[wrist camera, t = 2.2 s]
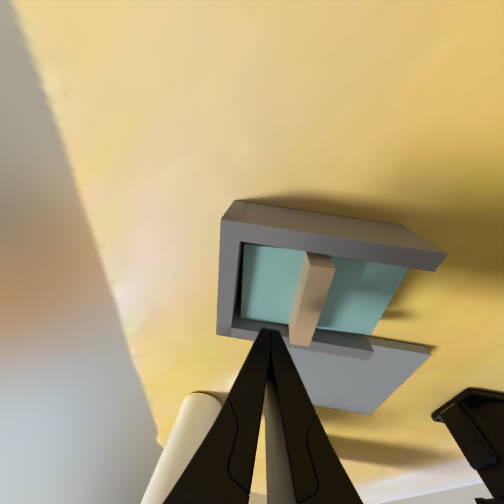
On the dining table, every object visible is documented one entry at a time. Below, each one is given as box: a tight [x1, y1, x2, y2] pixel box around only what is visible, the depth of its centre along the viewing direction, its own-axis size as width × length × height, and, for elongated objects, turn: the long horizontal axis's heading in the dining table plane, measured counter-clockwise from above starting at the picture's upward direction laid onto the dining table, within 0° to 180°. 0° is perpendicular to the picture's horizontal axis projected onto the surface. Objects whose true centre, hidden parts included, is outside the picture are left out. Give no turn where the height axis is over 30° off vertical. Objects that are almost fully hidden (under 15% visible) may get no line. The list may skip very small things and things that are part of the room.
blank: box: [241, 242, 409, 346], centre depth 12 cm, size 9×6×4 cm, turn 87°
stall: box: [216, 200, 447, 360], centre depth 13 cm, size 11×9×4 cm
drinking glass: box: [140, 393, 221, 504], centre depth 20 cm, size 7×7×15 cm
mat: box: [287, 337, 431, 415], centre depth 20 cm, size 12×12×1 cm
